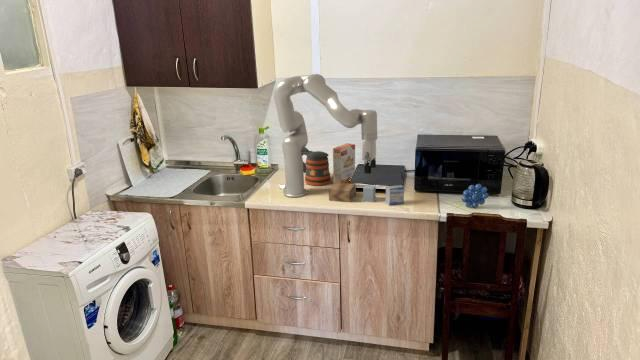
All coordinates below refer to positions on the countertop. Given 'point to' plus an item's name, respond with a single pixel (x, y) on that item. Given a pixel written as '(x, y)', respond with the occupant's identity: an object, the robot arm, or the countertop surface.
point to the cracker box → (343, 163)
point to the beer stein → (316, 167)
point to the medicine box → (394, 195)
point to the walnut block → (342, 192)
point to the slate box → (369, 193)
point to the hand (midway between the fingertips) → (370, 170)
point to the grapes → (475, 195)
